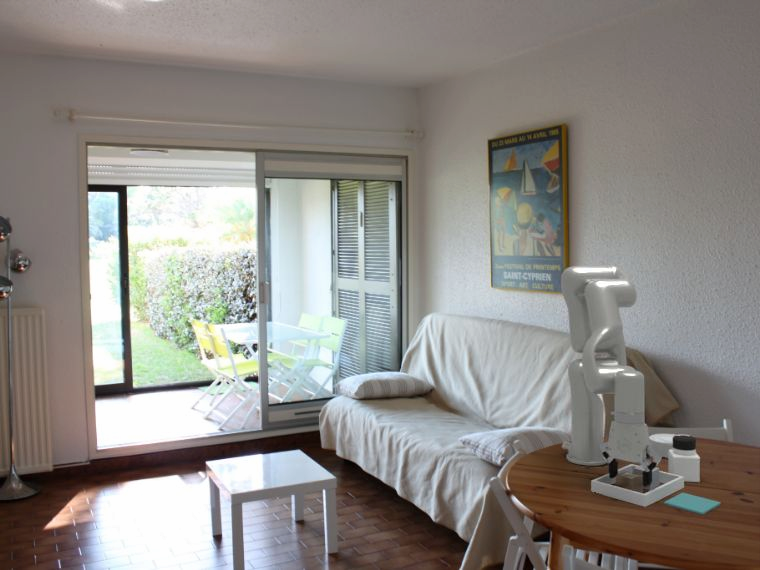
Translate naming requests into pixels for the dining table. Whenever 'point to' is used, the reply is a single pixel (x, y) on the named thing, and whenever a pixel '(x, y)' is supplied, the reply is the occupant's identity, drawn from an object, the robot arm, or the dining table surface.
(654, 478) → the slate box
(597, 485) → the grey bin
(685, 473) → the medicine bottle
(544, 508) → the dining table surface
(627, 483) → the walnut box
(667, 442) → the ramekin
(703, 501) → the teal mat
